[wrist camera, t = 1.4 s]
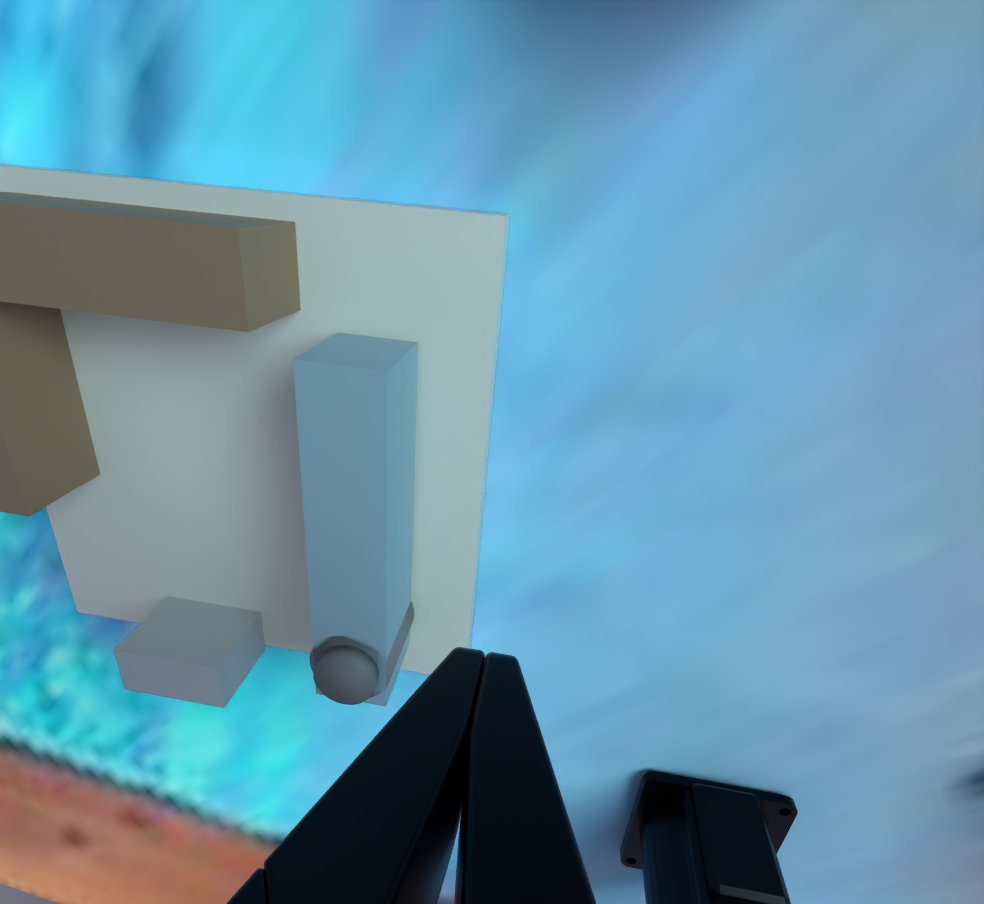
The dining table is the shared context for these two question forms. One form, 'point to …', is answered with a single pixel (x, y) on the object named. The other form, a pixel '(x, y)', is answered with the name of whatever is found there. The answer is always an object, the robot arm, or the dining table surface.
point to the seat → (229, 402)
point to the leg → (358, 509)
